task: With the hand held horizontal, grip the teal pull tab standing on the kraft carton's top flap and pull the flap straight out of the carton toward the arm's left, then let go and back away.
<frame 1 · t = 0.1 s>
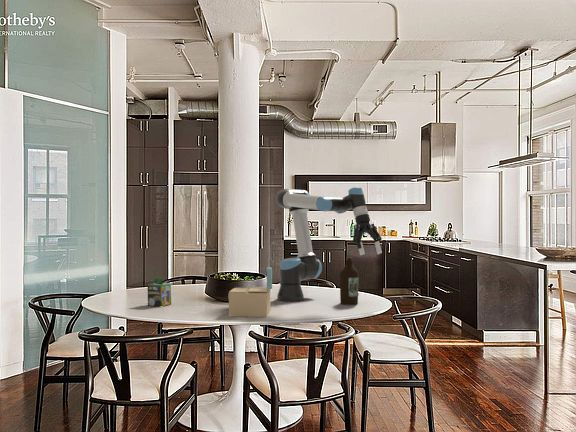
hand: (371, 254, 293), 28 cm above the table, tool tilted 20°, fingers open, 13 cm apart
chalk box: (159, 305, 300), on the table
olive oil: (349, 303, 306), on the table
carton: (250, 313, 275), on the table
flap: (260, 279, 274), point 17 cm above the table, slide at 0.0 cm
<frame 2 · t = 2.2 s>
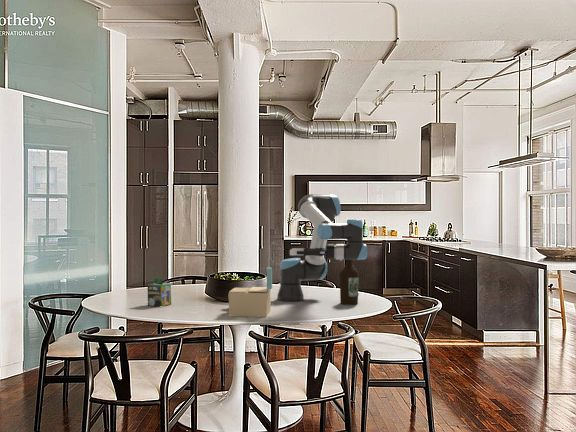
hand: (290, 251, 273), 30 cm above the table, tool horizontal, fingers open, 13 cm apart
nothing on the table moved.
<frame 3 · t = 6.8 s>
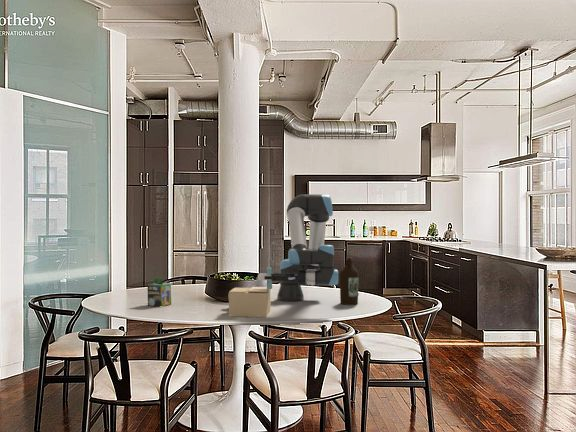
hand: (258, 276, 274), 18 cm above the table, tool horizontal, fingers closed on flap, 5 cm apart
flap: (260, 279, 274), point 17 cm above the table, slide at 0.0 cm, touching gripper
everything else where it was.
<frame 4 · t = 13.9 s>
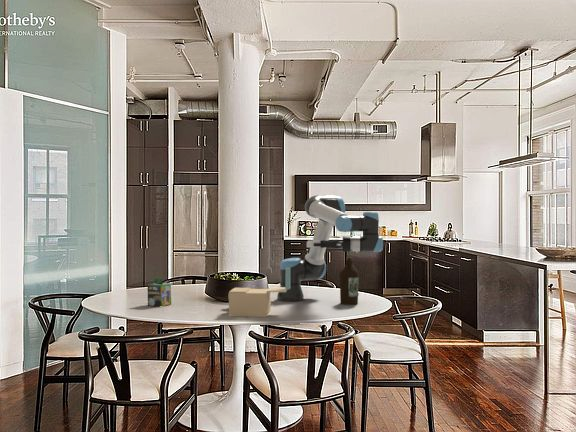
hand: (307, 243, 276), 34 cm above the table, tool horizontal, fingers open, 13 cm apart
flap: (279, 279, 273), point 17 cm above the table, slide at 9.0 cm
everything else where it was.
at the end: flap slide at 9.0 cm; the gripper is holding nothing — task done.
